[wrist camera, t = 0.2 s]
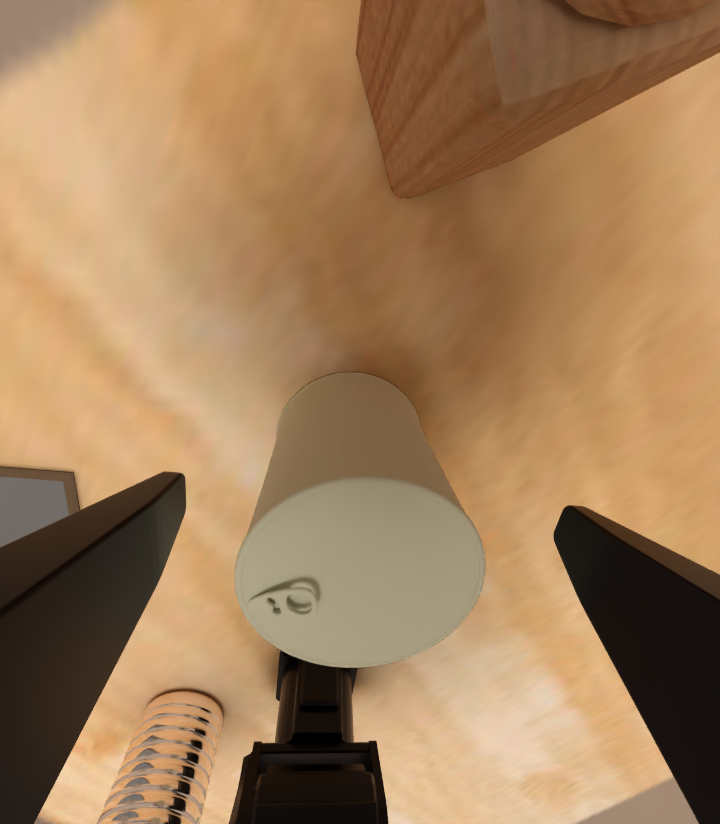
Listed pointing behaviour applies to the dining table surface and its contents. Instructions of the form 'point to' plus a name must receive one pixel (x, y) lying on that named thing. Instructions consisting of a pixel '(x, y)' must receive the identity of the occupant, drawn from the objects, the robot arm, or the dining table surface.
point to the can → (356, 532)
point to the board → (33, 500)
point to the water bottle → (167, 763)
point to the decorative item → (511, 73)
